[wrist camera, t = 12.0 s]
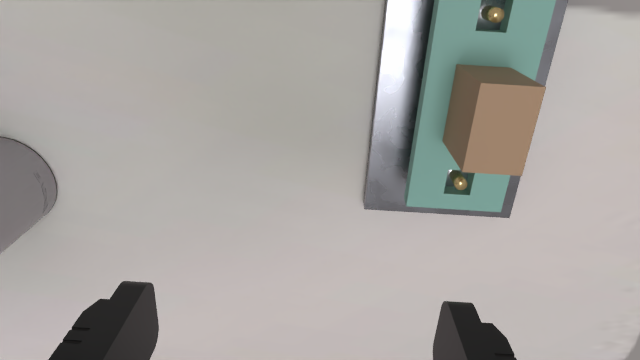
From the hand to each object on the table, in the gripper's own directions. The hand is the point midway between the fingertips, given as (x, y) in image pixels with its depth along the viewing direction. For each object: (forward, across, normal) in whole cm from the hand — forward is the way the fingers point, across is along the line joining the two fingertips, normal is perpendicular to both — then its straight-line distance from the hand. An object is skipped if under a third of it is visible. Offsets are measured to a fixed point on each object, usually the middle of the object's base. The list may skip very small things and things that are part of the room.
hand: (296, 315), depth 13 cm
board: (+26, -12, 0) cm, 28 cm away
